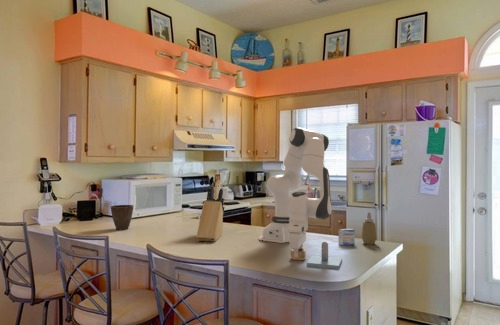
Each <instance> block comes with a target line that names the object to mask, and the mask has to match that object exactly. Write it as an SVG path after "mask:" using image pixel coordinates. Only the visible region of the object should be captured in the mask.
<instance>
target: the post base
mask: <svg viewBox="0 0 500 325" xmlns="http://www.w3.org/2000/svg"><path fill="white" fill-rule="evenodd" d="M342 262H343V258H342V257H338V256H337V257H335V256H329V244H328V242H327V241H323V242H321V255H313V254H312V255H311V257H310V258H309V259H308V260H307V262H306V267H312V268H322V269H335V270H340V267H341V265H342Z"/></svg>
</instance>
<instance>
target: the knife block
mask: <svg viewBox="0 0 500 325" xmlns="http://www.w3.org/2000/svg"><path fill="white" fill-rule="evenodd" d="M214 194H215V189H214V186H213V185H210V187H209V188H208V190H207V195H206V200H205V201H203V204H202V209H201V214H200V218H199V222H198V223H199V224H198V227H197V232H196V237H195V238H196V241H197V242H202V241H204V242H205V241H206V242H212V243H213V242H216V241H217V240H218V239H219V238H220V237H221V236H222V234H223V225H224V222H223V221H224V219H223V217H224V213H225V209H226V208H225V206H224V201H225V198H223V194H224V189H222V188H219V191H218V195H217V198H216V199H215V198H214V197H215V195H214Z"/></svg>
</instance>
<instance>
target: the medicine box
mask: <svg viewBox="0 0 500 325" xmlns="http://www.w3.org/2000/svg"><path fill="white" fill-rule="evenodd" d="M355 231H356V230H355V229H353V228H338V245H340V246H355V237H356V236H355Z"/></svg>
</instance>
